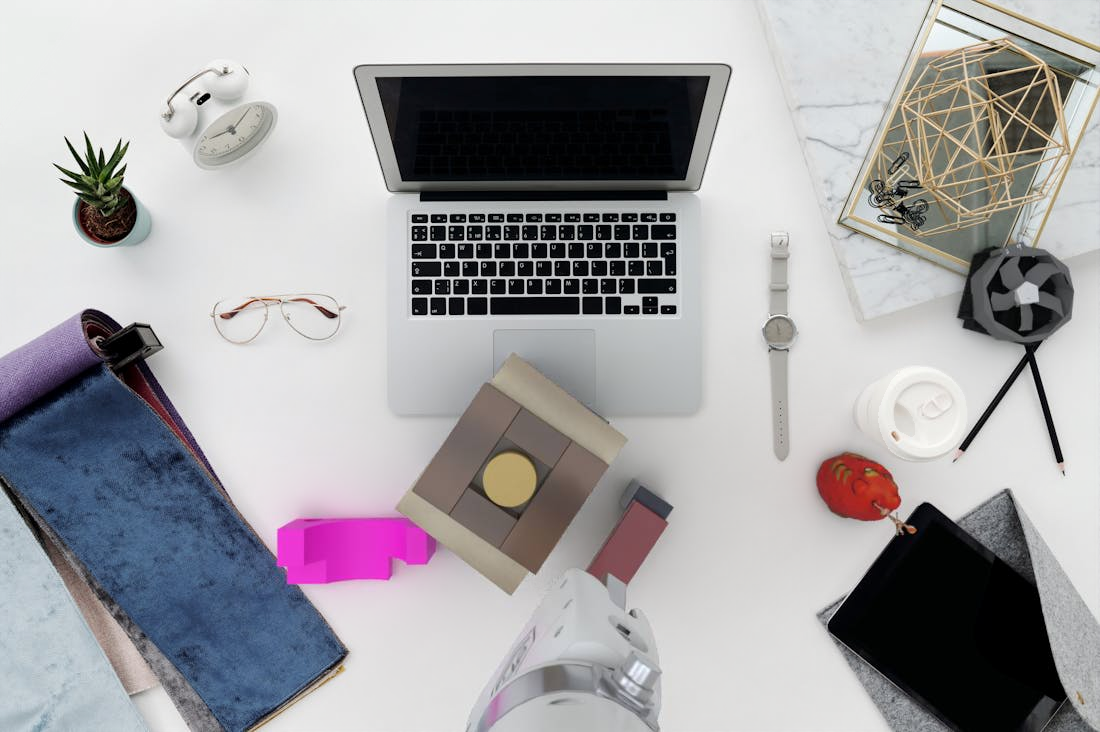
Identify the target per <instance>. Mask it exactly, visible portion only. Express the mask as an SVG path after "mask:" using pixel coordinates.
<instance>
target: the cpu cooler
mask: <svg viewBox="0 0 1100 732" xmlns="http://www.w3.org/2000/svg"><path fill="white" fill-rule="evenodd" d="M964 285H965V286H964V288H963V292H962V293H963V294H962V296H961V300H960V302H959V306H958V310H957V315H956V318H958V319H960V320H963V324H962V326H961V327H962V329H965V330H969V331H972V332H975V333H979V334H982V335H986V336H988V337H989V336H990V337H993V338H994V339H995V340H996V341H1005V342H1011V343H1014V344H1018V345H1022V346H1025V347H1029V346H1031V347H1032V346H1038V345H1039V342H1040V341H1046V340H1049V337H1051V336H1052V335H1053V334H1055V333H1056V332H1057V331H1059V330H1060V329H1061V328H1063V326H1065V325H1066V324H1068V323H1069V322H1070V321H1071V320H1072V318H1073V309H1074V308H1073V307H1074V297H1075V289H1074V285H1073V281H1072V277H1071V273H1070V269H1069V267H1068V265H1066V264H1065V263H1064V262H1062V261H1061V260H1060V259H1058V258H1057V257H1056V256H1054V255H1053V254H1052V253H1050V252H1049V251H1048V250H1046V249H1044V248H1039V247H1033V246H1029V245H1026V243H1025V242H1024V241H1019V242H1017V243H1012V244H1010V245H1007V246H1004V247H1003V246H1002V247H1000V246H996V245H992V246H989V247H986V248H983V249H982V251H980V252H977V253H974V254H973V256H972V260H971V262H970V266H969V270H968V274H967V278H966V280H965V284H964Z"/></svg>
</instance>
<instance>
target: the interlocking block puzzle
mask: <svg viewBox="0 0 1100 732" xmlns="http://www.w3.org/2000/svg"><path fill="white" fill-rule="evenodd" d="M628 441H629V438H627V437H626V436H625V435H623V434H622V433H620V432H619V431H618V430H617V429H615V428H614V427H613V426H612V425H610V421H609V420H607V419H605V418H604V417H603V416H601V415H599V414H598V413H596V411H593V410H592V409H590V407H587V405H585V404H583V403H582V402H580V401H579V400H577V399H576V398H575V397H573V396H572V395H570V394H569V393H568V392H566V390H564V389H562V388H561V387H560V386H558V384H556V383H555V382H554V381H552V380H550V379H549V378H548V377H547V376H545V375H544V374H543V373H541V372H540V371H538V370H537V368H535V367H533V366H532V365H531V364H529V363H528V362H527V361H525V360H524V359H523V358H521V357H520V356H519V355H517V354H516V353H515V352H512V353H511V354H510V356H509V357H508V358H507V359H506V361H504V362H503V363H502V364H501V367H500V368H499V369H498V372H497V373H496V374H495V375H494V376H493V377H492V379H491V380H490V382H489V381H485V382H484V383H483V384H482V386H481V387H480V389H479V390H478V392H477V393H476V395H475V396H474V398H473V399H472V400H471V402H470V404H469V405H468V407H467V408H466V409H465V411H464V412H463V414H462V415H461V417H460V418H459V419H458V421H457V423H456V424H455V426H453V428H452V430H451V431H450V433H449V434H448V436H447V437H446V439H445V440H444V441H443V443H442V445H441V446H440V448H439V449H438V450H437V452H436V453H435V454H434V456H433V457H432V458H431V459H430V461H429V462H428V464H427V465H426V466H425V468H424V469H423V470H422V472H421V473H420V474H419V476H417V477H416V480H415V481H414V482H413V483H412V485H411V486H410V487H409V489H408V490H407V491H406V492H405V494H404V495H403V496H402V498H401V499H400V501H399V502H398V503H397V505H396V506H395V507H394V509H395V510H396V511H397V512H399V513H400V514H401V515H402V516H404V517H407V518H408V519H410V520H411V521H412V522H414V523H415V524H416V525H417V526H419V527H420V528H421V529H423V530H424V531H425V532H427V533H428V534H429V535H431V536H432V537H433V538H435V541H436V542H438V543H439V544H441V545H442V546H444V547H445V548H446V549H448V550H449V551H451V552H452V553H453V554H454V555H455V556H457V557H458V558H460V559H461V560H462V561H464V562H465V563H466V564H467V565H468V566H469V567H472V569H474V570H475V571H477V572H478V573H479V574H480V575H482V577H485V578H486V579H487V580H489V581H490V583H493V584H494V585H495V586H496V587H498V588H499V589H501V590H502V591H503V592H504V593H506V594H507V595H508V596H510V597H512V595H513V594H514V593H515V591H516V590H517V589H518V588H519V586H520V585H521V584H522V582H523V581H524V580H525V578H526V577H527V576H528V575H529V573H531V574H533V575H535V576H536V575H537V574H538V573H539V571H540V570H541V568H542V566H543V565H544V564H545V562H546V560H547V559H548V558H549V557H550V555H551V553H552V552H553V550H554V549H555V548H556V546H557V544H558V543H559V541H560V540H561V538H562V537H563V535H564V533H566V531H567V530H568V528H569V526H570V525H571V523H572V522H573V520H574V519H575V518H576V516H577V515H578V513H579V511H580V510H581V509H582V507H583V505H584V504H585V502H586V501H587V499H588V498H589V497H590V495H591V493H592V492H593V490H594V489H595V488H596V486H597V485H598V483H599V482H600V480H601V479H602V477H603V476H604V475H605V473H606V472H607V470H608V469H609V466H610V465H611V464H612V462H613V460H614V459H616V457H617V455H618V454H619V453H620V452H621V450H622V449H623V447H624V446H625V445H626V444H627V443H628ZM506 450H516V451H520V452H522V453H524V454H526V455H527V456H528V457H529V458H530V459H531V460H532V461H533V463H534V465H535V467H536V472H537V482H536V487H535V490H534V493H533V494H532V496H531V497H530V498H529V499H528V500H527V501H526V502H525V503H523V504H521V505H519V506H515V507H504V506H501V505H498V504H496V503H495V502H493V501H492V500H491V499H490V498H489V497H488V495H487V494H486V492H485V489H484V486H483V474H484V471H485V469H486V467H487V465H488V464H489V462H490V461H491V459H492V458H493V457H494V456H496V455H497V454H499V453H500V452H503V451H506Z"/></svg>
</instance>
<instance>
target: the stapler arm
mask: <svg viewBox="0 0 1100 732" xmlns="http://www.w3.org/2000/svg"><path fill="white" fill-rule="evenodd" d="M668 525H669V522H668V521H667V519H666V520H665V519H663V518H662V517H660V516H659V515H657V514H656V513H654V512H653V511H652V510H650V509H649V508H647V507H646V506H644V505H643V504H641V503H640V502H638V501H637V500H635V499H633V500H632V501H631V503H630V504H629V506H628V507H627V509H626V510H625V509H624V512H623V513H622V514H621V516H620V518H619V519H618V521H617V522H616V524H615V525H614V527H613V528H612V529H611V531H610V533H609V534H608V536H607V537H606V538H605V540H604V542H603V543H602V545H601V546H600V548H599V549H598V551H597V552H596V554H595V555H594V556H593V558H592V560H591V561H590V562H589V564H588V565H587V567H586V569H585V570H584V571H585V572H587V573H589V574H591V575H592V576H594V577H595V578H597V579H598V580H599V581H600V580H601V579H602V577H603V576H604V575H605V574H606V573H607V572H608V573H610V574H611V575H613V576H614V577H616V578H617V579H619V580H620V581H622V582H623V583H625V584H626V585H627V586H629V584H630V583H631V581H632V579H633V578H634V577H635V575H636V573H637V572H638V571H639V569H640V568H641V566H642V564H643V563H644V562H645V560H646V558H647V557H648V556H649V554H650V553H651V551H652V550H653V548H654V546H655V545H656V543H657V542H658V540H659V539H660V538H661V536H662V534H663V533H664V531H665V530H666V528H667V527H668Z"/></svg>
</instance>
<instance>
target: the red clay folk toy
mask: <svg viewBox="0 0 1100 732" xmlns="http://www.w3.org/2000/svg"><path fill="white" fill-rule="evenodd" d="M885 467H886V466H884V465H883V464H880V463H879V462H877V461H875V460H872V459H869V458H867V457H866V456H863V455H862V454H858V453H854V452H850V451H845V452H843V453H841V454H840V455H838V456H833V457H831V458H828V459H826V460H825V461H823V462H822V464H821V465H820V468H819V470H818V472H817V474H816V479H815V480H816V488H817V491H818V493H819V495H820V497H821V499H822V500H823V502H824V503H825V504H826V505H827V508H828V509H829V511H830V512H831V513H833V514H835V515H836V516H838V517H840V518H842V519H852V520H858V521H861V522H876V521H877V522H878V521H882V520H884V519H885V518H886V517H888V518H889V519H890V520H891V522H893V524H894V525H895V534H896V535H895V536H896V537H898V536H899V533H900V534H901V535H902V536H903V535H905V532H904V531H903V530H902V527H905V529H906V530H907V532H908V533H909V534H915V533H916V532H917V529H916V528H915V526H913V525H910V524H906V523H905V522H903V521H902V520H900V519H899V517H898V516H899V515H898V514H899V513H898V512H895V517H894V516H892V515H891V514H892V513H893V512H894V511H896V510H897V509H898V508H900V506H901V504H902V498H901V496H900V495H899V487H898V484H897V483H896V482H895V481H894V477H893V475H892V473H891V472H890V471H889V470H888V469H887V468H885Z"/></svg>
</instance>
